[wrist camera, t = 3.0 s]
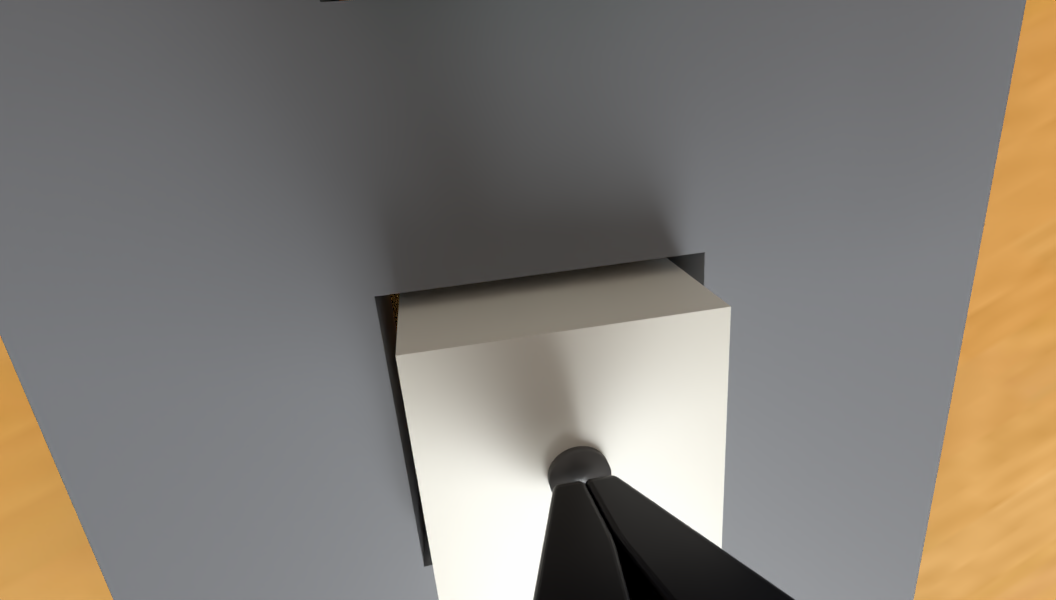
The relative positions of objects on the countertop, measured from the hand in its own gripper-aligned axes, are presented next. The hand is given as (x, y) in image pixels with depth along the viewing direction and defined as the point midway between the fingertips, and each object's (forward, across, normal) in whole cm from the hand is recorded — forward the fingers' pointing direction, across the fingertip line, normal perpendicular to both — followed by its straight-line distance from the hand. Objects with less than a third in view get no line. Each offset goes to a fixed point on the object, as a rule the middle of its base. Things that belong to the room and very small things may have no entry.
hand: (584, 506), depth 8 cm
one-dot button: (+3, 0, 0) cm, 3 cm away
